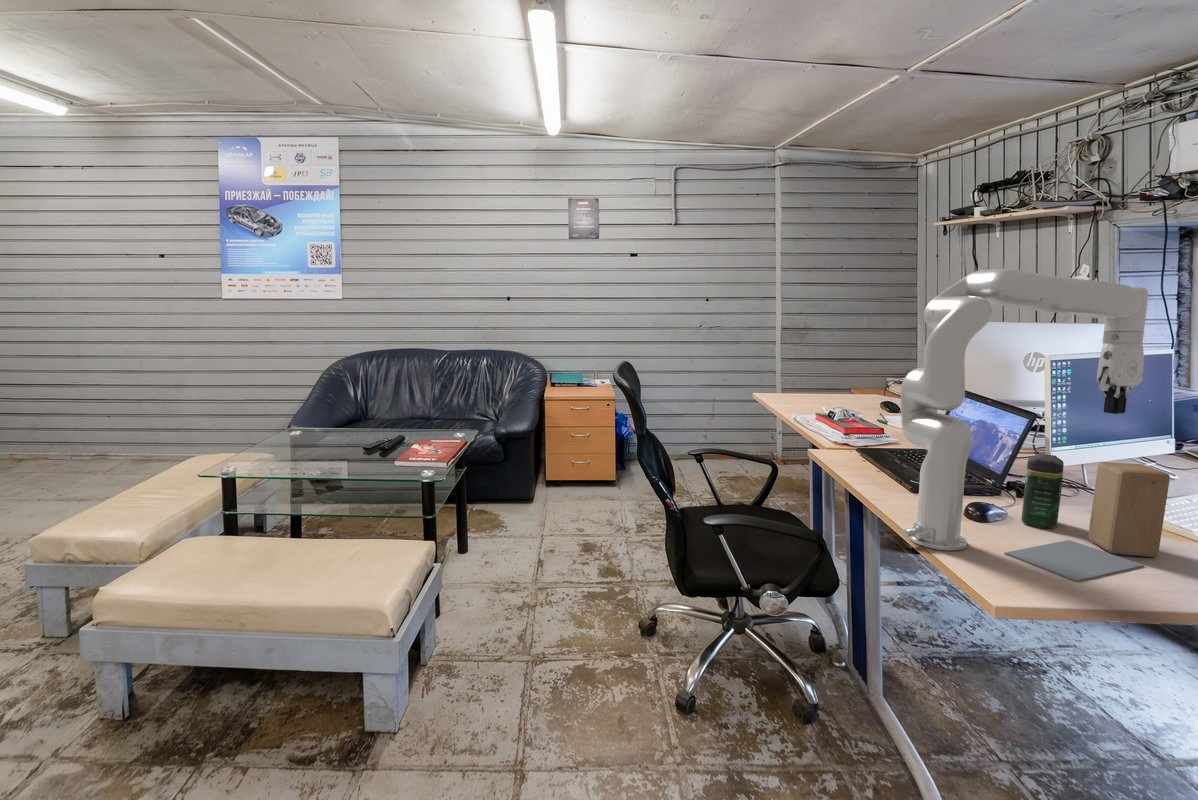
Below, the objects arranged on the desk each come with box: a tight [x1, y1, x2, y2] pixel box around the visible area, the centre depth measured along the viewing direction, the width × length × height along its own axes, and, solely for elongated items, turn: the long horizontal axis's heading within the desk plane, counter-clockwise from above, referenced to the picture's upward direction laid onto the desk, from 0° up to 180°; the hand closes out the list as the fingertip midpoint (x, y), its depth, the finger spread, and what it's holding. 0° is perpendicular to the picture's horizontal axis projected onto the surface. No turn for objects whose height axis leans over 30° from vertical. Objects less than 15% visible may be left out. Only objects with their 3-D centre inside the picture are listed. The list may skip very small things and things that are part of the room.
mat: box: [1004, 539, 1145, 583], centre depth 142 cm, size 22×16×1 cm
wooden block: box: [1087, 461, 1171, 558], centre depth 146 cm, size 10×10×20 cm
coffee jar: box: [1021, 453, 1064, 529], centre depth 164 cm, size 10×8×19 cm
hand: (1114, 412), depth 154 cm, fingers closed
